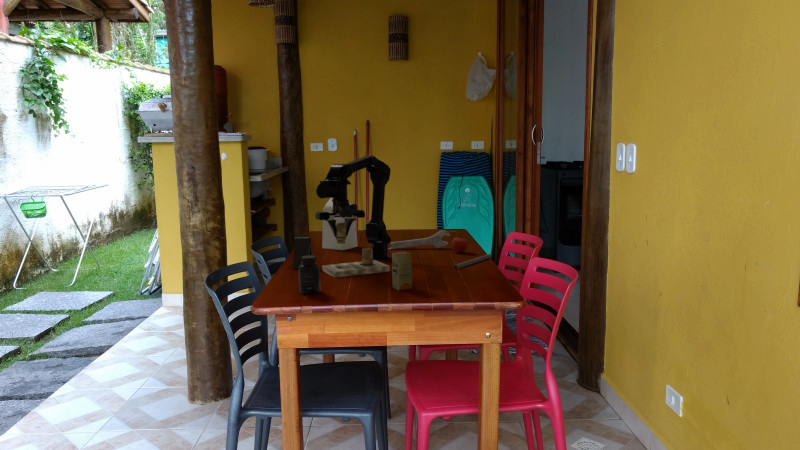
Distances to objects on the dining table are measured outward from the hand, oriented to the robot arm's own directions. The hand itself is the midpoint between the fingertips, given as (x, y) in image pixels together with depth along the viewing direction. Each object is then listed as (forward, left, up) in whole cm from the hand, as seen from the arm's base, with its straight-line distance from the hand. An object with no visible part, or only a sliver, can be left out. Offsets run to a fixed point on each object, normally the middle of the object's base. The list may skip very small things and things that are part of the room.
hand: (340, 236), depth 243 cm
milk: (-16, -45, -13) cm, 49 cm away
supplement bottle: (+24, +33, -13) cm, 43 cm away
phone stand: (+13, -9, -13) cm, 20 cm away
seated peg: (-7, +9, -12) cm, 17 cm away
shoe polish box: (-5, +43, -13) cm, 45 cm away
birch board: (-2, +9, -12) cm, 16 cm away
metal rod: (-49, +18, -13) cm, 54 cm away
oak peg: (0, 0, -3) cm, 2 cm away
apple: (-56, -4, -13) cm, 58 cm away
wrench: (-46, -23, -13) cm, 53 cm away
